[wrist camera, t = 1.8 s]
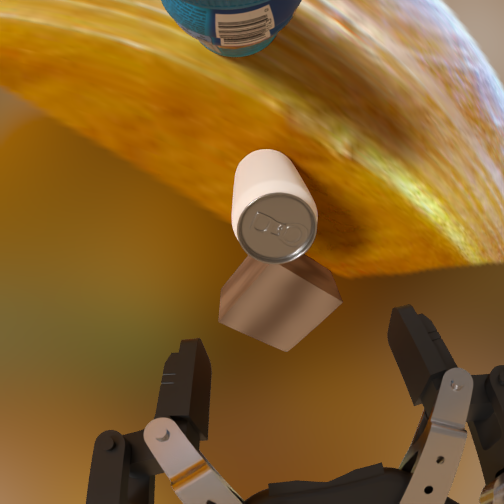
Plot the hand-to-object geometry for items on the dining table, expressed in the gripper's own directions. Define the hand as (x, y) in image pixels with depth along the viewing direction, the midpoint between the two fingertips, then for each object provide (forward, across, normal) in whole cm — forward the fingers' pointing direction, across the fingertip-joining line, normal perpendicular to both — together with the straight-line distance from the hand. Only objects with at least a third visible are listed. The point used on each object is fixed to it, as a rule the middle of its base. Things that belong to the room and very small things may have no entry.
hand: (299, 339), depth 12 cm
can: (+22, 0, +1) cm, 23 cm away
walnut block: (+22, 0, +14) cm, 26 cm away
